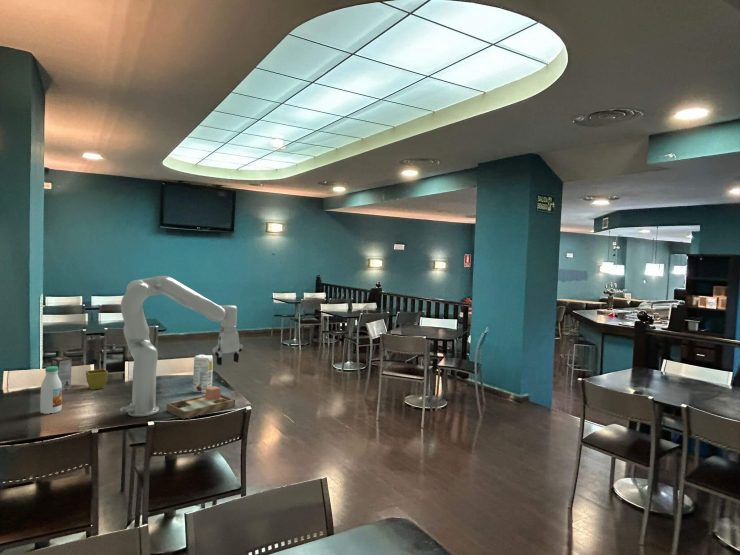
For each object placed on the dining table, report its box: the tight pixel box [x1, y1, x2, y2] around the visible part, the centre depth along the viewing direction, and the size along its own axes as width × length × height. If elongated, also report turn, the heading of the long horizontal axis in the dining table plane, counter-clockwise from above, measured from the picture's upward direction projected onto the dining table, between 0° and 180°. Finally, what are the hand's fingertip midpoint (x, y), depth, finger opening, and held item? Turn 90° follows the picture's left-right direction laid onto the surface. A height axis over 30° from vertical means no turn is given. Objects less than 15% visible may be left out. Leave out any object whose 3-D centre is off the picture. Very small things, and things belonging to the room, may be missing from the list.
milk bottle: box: [39, 365, 63, 415], centre depth 197 cm, size 8×8×20 cm
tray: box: [165, 393, 236, 420], centre depth 210 cm, size 26×16×3 cm, turn 141°
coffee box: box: [50, 355, 73, 391], centre depth 231 cm, size 9×6×16 cm
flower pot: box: [85, 368, 109, 390], centre depth 234 cm, size 9×9×9 cm
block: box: [205, 385, 221, 400], centre depth 218 cm, size 5×5×5 cm
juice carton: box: [192, 354, 214, 394], centre depth 237 cm, size 8×9×19 cm
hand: (227, 363), depth 224 cm, fingers open, 9 cm apart
